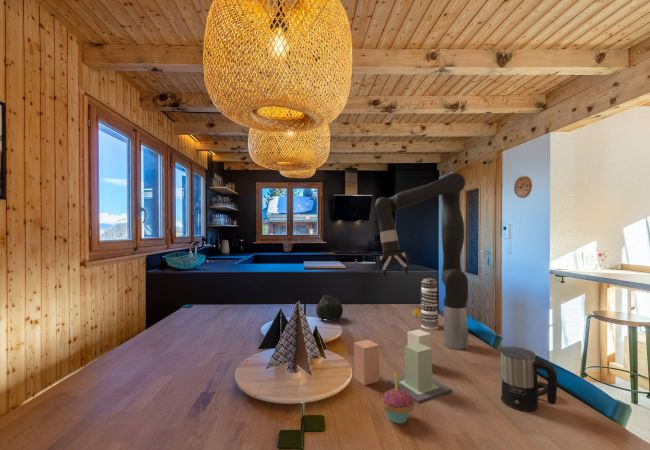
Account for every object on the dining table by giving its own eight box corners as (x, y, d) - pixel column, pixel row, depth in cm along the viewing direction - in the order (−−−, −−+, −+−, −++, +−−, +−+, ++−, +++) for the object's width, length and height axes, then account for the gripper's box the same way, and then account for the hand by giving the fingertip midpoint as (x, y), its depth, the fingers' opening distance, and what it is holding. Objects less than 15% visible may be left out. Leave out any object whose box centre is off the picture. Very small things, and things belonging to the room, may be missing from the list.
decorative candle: (440, 325, 164) (440, 278, 164) (436, 330, 156) (436, 280, 157) (423, 323, 169) (422, 277, 169) (418, 327, 161) (417, 279, 161)
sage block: (404, 382, 101) (404, 345, 102) (418, 378, 104) (418, 342, 104) (418, 391, 96) (417, 352, 96) (432, 386, 99) (431, 348, 99)
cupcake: (378, 410, 87) (377, 367, 87) (407, 408, 88) (407, 365, 88) (387, 429, 79) (386, 381, 79) (419, 427, 79) (419, 380, 80)
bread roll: (424, 319, 176) (424, 312, 176) (411, 316, 183) (411, 309, 183) (432, 317, 181) (432, 310, 182) (418, 314, 188) (418, 307, 188)
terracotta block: (354, 377, 107) (354, 342, 107) (368, 373, 109) (368, 339, 110) (364, 385, 101) (363, 348, 101) (379, 381, 104) (378, 345, 104)
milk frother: (503, 408, 88) (502, 355, 88) (494, 382, 102) (493, 337, 103) (563, 418, 83) (562, 362, 83) (545, 390, 97) (544, 342, 98)
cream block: (407, 363, 118) (407, 331, 118) (419, 360, 120) (419, 329, 120) (419, 369, 112) (418, 336, 112) (431, 366, 115) (431, 333, 115)
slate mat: (387, 382, 103) (387, 380, 103) (419, 373, 109) (419, 371, 110) (418, 402, 91) (418, 400, 91) (451, 391, 97) (451, 389, 97)
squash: (350, 311, 172) (339, 289, 181) (328, 317, 164) (317, 293, 172) (339, 324, 181) (329, 301, 189) (318, 330, 173) (308, 306, 181)
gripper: (374, 243, 137) (380, 280, 134) (406, 237, 135) (413, 275, 133) (373, 244, 144) (379, 279, 142) (404, 239, 143) (411, 274, 141)
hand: (396, 277), depth 138 cm, fingers open, 8 cm apart
